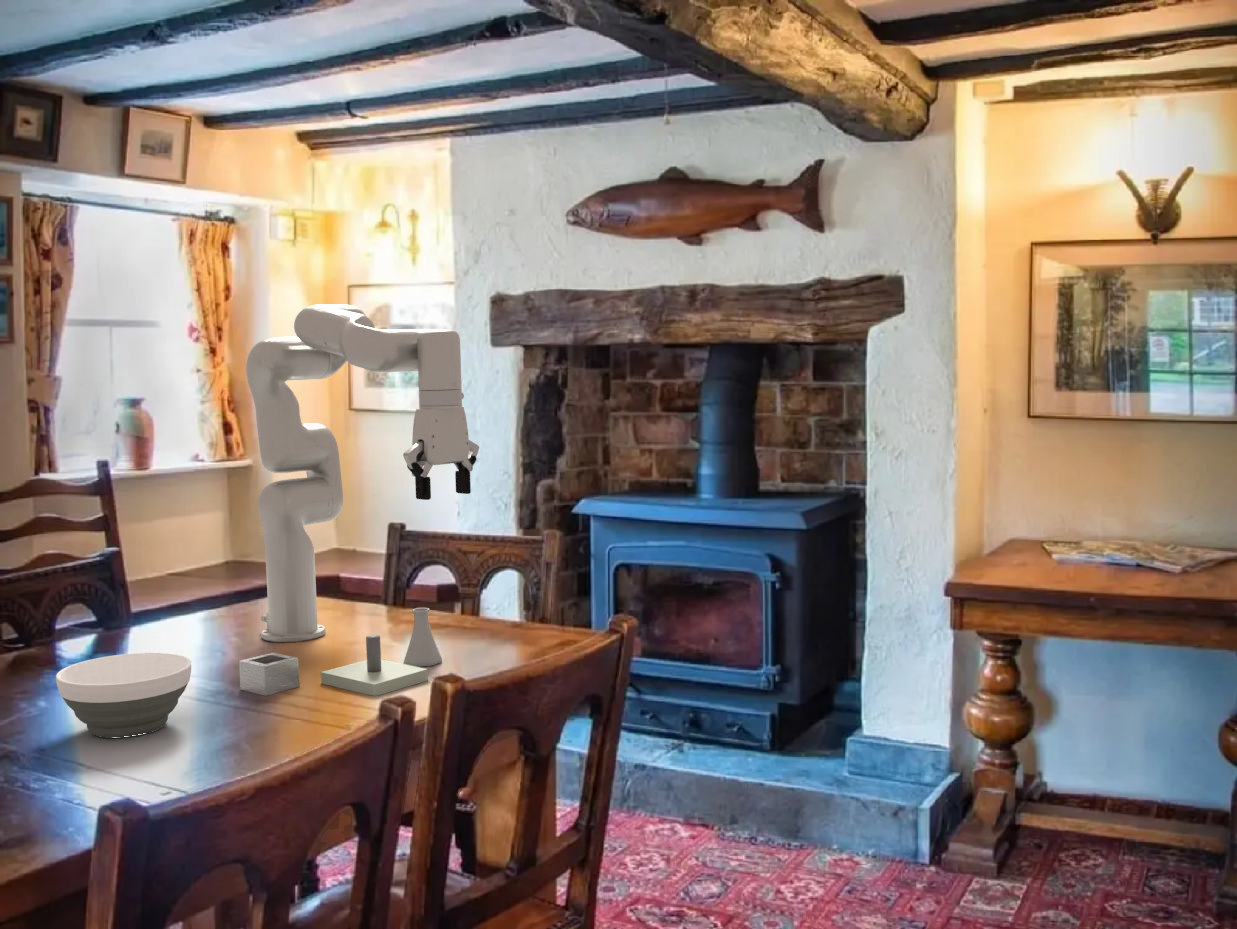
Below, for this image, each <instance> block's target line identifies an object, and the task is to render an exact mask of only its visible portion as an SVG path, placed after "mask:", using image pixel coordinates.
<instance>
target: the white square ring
mask: <svg viewBox="0 0 1237 929" xmlns="http://www.w3.org/2000/svg"><path fill="white" fill-rule="evenodd" d="M238 666H239V667H238V668H239V686H240V688H239V689H240V690H241V691H245V692H248V693H253V694H257V695H260V696H265V697H267V696H270V695H273V694H278V693H281V692H284V691H289V690H291V689H295V688H299V687H300V667H299V658H298V657H295V656H291V655H286V654H282V653H277V652H270V653H266V654H265V653H264V654H261V655H257V656H253V657H250V658H249V657H248V658H246V659H245V658H244V659H241V660H240V659H239V660H238Z"/></svg>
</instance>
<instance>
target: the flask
mask: <svg viewBox="0 0 1237 929" xmlns="http://www.w3.org/2000/svg"><path fill="white" fill-rule="evenodd" d="M429 613H430V608H429V607H416V608H414V609H412V614H413V628H412V629H413V630H412V632H411V635H410V639H409V644H408V646H407V647H408V648H407V651H406V653H405V656H404V660H403V664H406V665H411V666H415V667H431V666H434V665H437V664H439V663H442V662H443V661H442V655H441V653H440V650H439V648H438V646H437V643H436V640H435V638H434V635H433V633H432V630H431V625H430V622H429V621H430V620H429Z"/></svg>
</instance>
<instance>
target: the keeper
mask: <svg viewBox="0 0 1237 929" xmlns="http://www.w3.org/2000/svg"><path fill="white" fill-rule="evenodd" d="M365 644H366V645H365V646H366V648H365V649H366V659H365V660H362V661H357V662H352V663H349V664H345V665H342V666H339V667H334V668H331V669H328V670H324V671H321V672H320V682H321V684H323V685H327V686H331V687H334V688H335V687H336V688H339V689H343V690H347V691H352V692H356V693H360V694H365V695H369V696H373V697H377V696H379V695H384V694H386V693H389V692H394V691H397V690H400V689H403V688H407V687H410V686H414V685H417V684H420V683H424V682H427V681H429V675H428V674H429V670H428V668H425V667H421V666H411V665H406V664H404V663H401V662H397V661H393V660H392V661H391V660H386V659H382V651H381V635H378V634H369V635H367V636H365Z"/></svg>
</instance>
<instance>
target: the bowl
mask: <svg viewBox="0 0 1237 929" xmlns="http://www.w3.org/2000/svg"><path fill="white" fill-rule="evenodd" d="M191 673H192V660H191V659H190V658H188V657H186V656H184V655H180V654H175V653H169V652H166V653H165V652H162V653H161V652H139V653H137V652H135V653H123V654H115V655H109V656H108V655H107V656H102V657H97V658H93V659H87V660H84V661H80V662H76V663H73V664H70V665H68V666H66V667H65V668H62V669H60V670H59V671H58V672H56V675H55V682H56V686H57V689H58V692H59V695H60V696H61V698H62V699H63V701H64V703H65V705H66V706H68V707H69V708H70V709H71V710H72V711H73V713H74V715H75V717H76V718H77V719H78V720H79V721H80V722H82V723H83V724H85V725H86V728H87V730H88V732H89V733H90V735H92V736H95V735H96V736H95V737H98V736H101V737H100V738H102V737H124V736H132V735H138V734H143V733H148V734H150V733H149V732H151V733H153V732H152V731H154V732H156V731H158V730H160V729H161V728H163V727H164V726H165V725H166V724H167V722H168V719H169V714H171V713H172V712H173V710H175V708H176V707H177V705H178V703H179V699H180V698H181V696H182V694H183V693H184V692H185V691H186V688H187V686H188V684H189V682H190V679H191ZM159 728H160V729H159ZM157 729H158V730H157ZM155 730H156V731H155Z"/></svg>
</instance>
